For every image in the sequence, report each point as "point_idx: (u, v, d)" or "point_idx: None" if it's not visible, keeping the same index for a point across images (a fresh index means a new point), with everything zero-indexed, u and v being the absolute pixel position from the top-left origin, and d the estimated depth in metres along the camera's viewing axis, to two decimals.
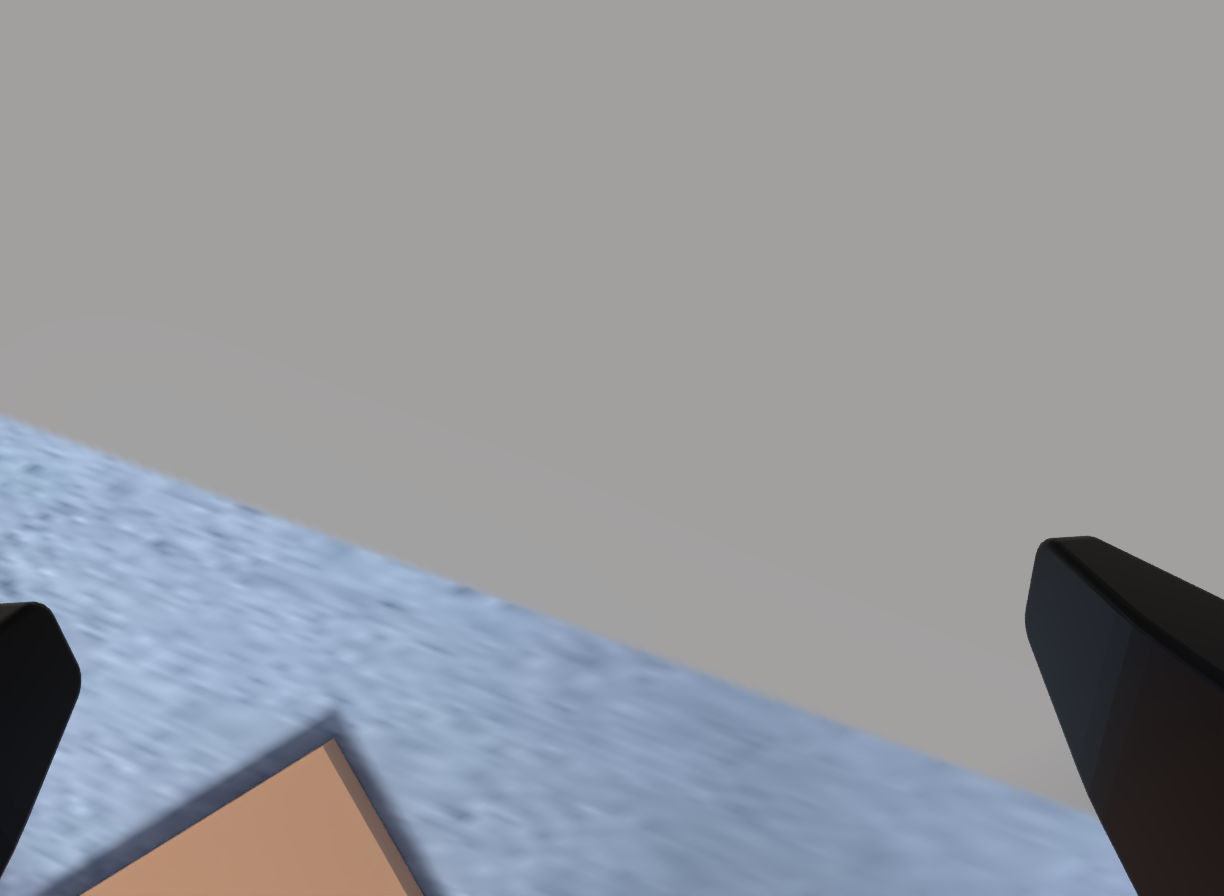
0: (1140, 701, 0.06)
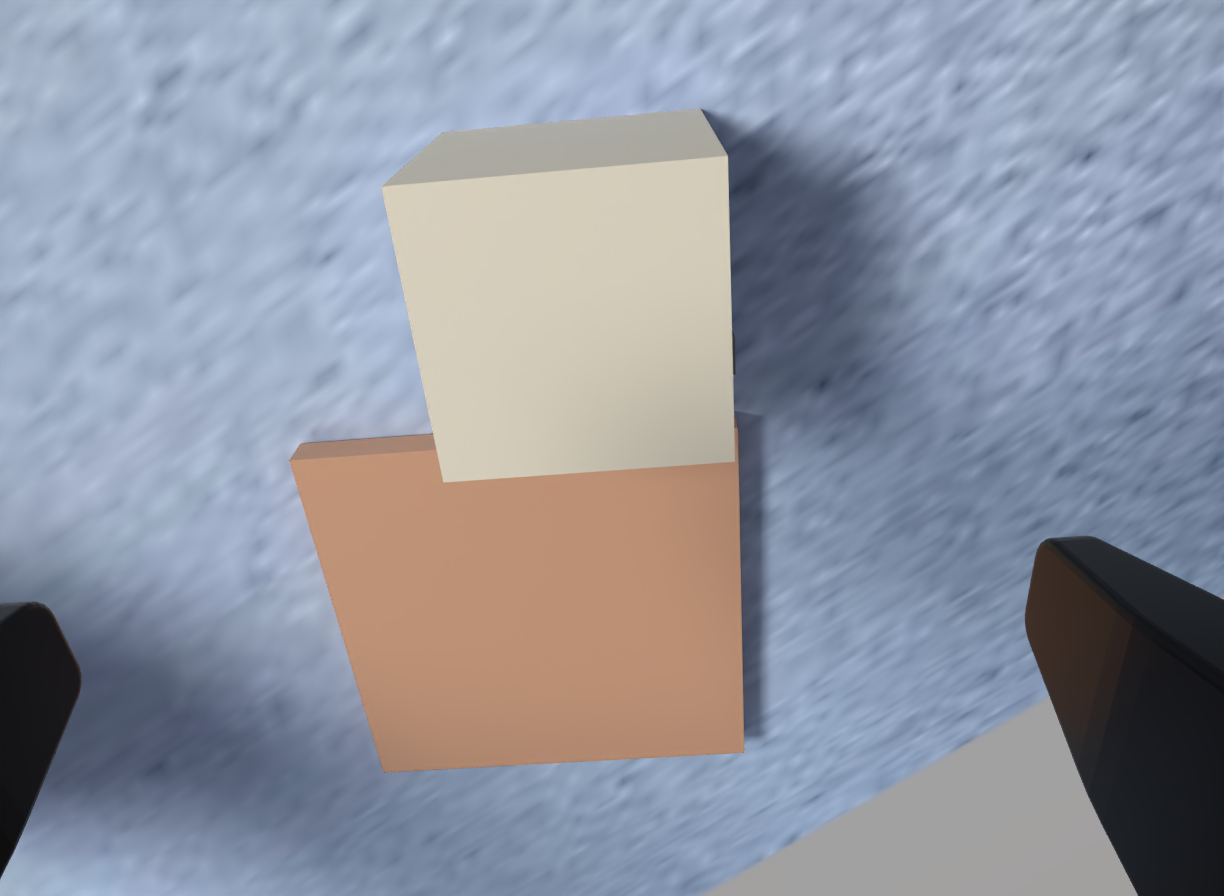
0: (1140, 701, 0.06)
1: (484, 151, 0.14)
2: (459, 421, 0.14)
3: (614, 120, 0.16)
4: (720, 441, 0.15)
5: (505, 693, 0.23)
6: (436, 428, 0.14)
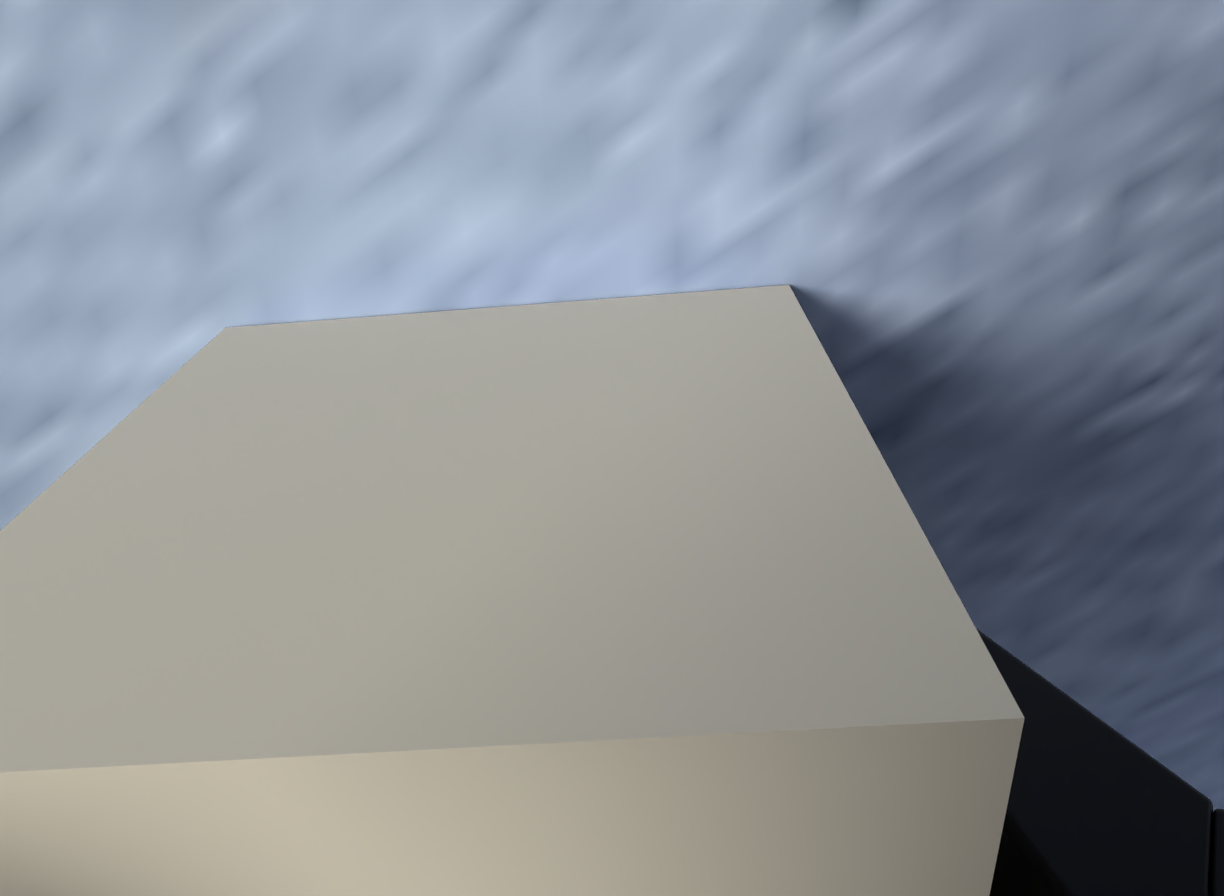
0: None
1: (236, 477, 0.05)
2: None
3: (598, 324, 0.07)
4: None
5: None
6: None
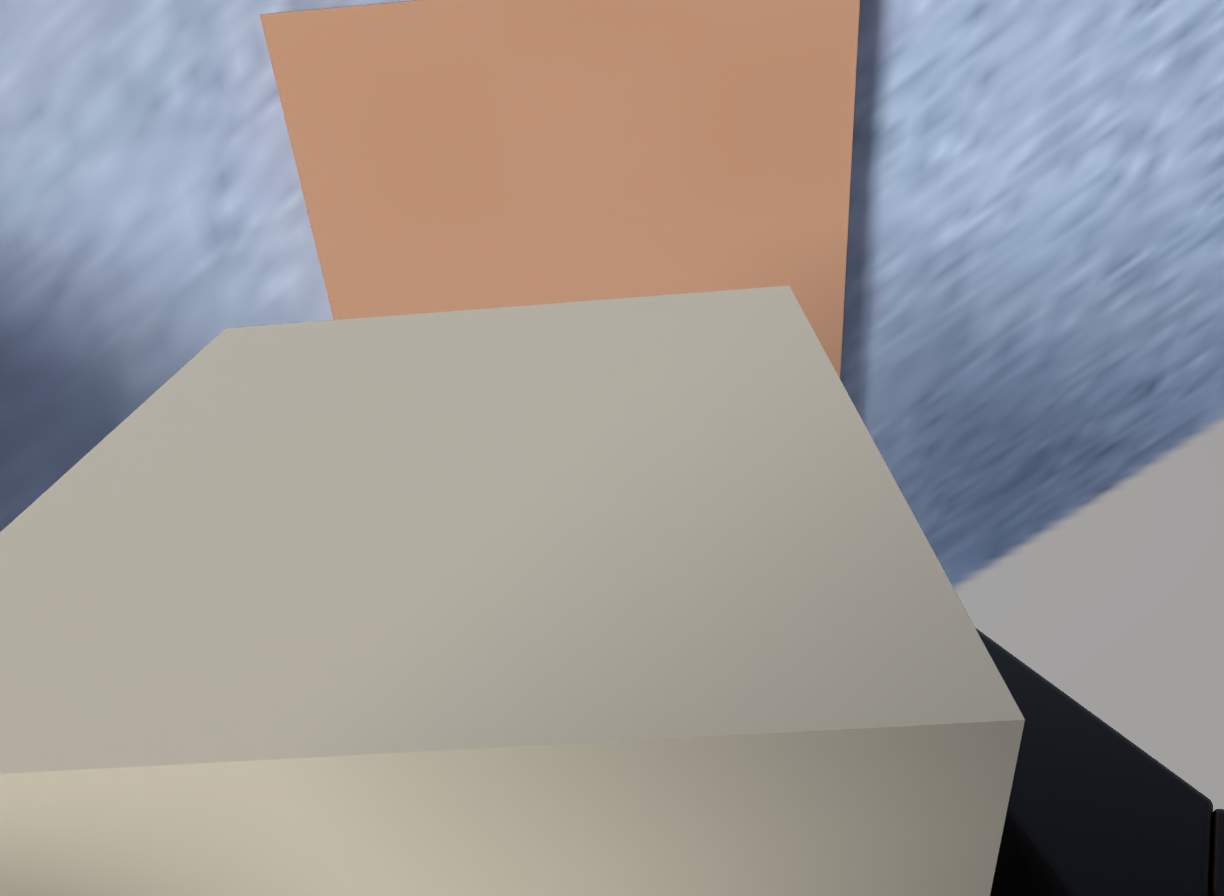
0: None
1: (236, 478, 0.05)
2: None
3: (598, 325, 0.07)
4: None
5: None
6: None
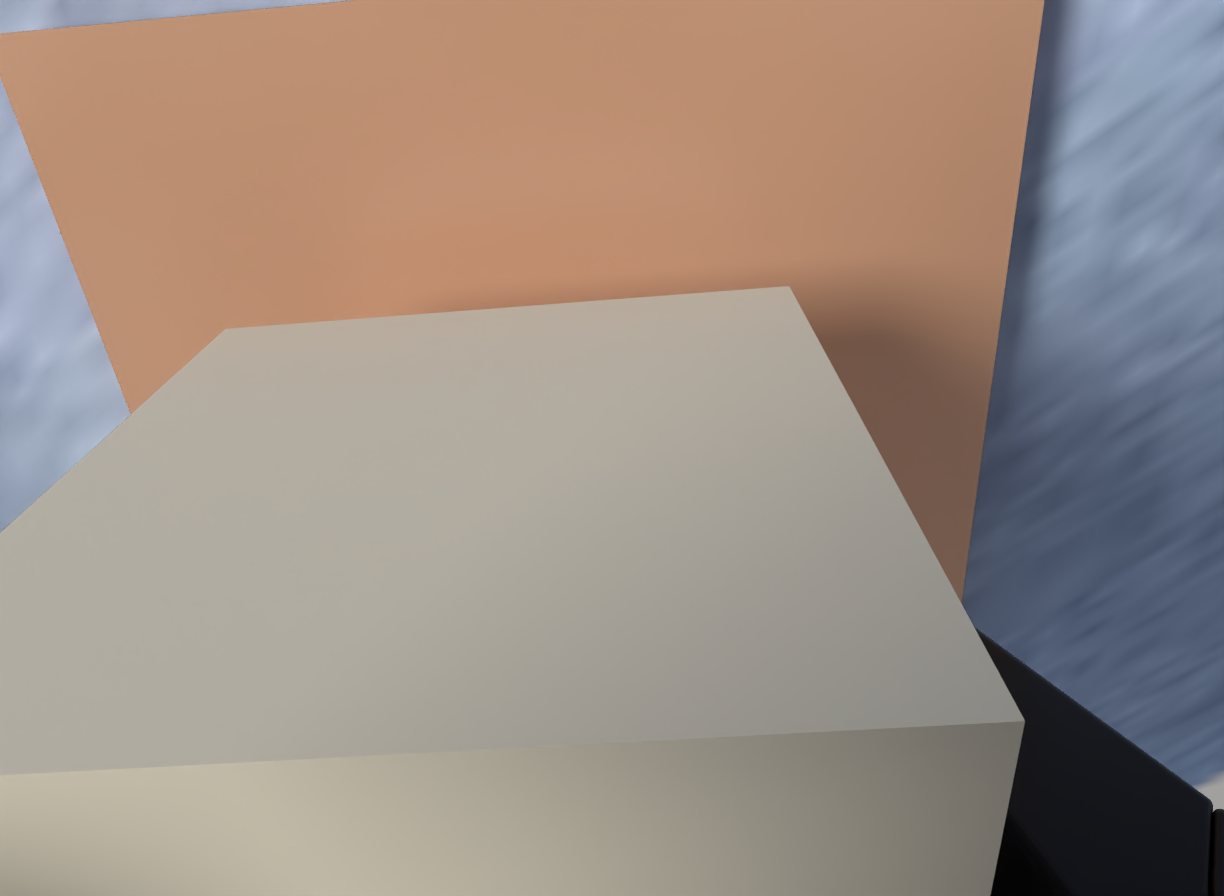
0: None
1: (236, 479, 0.05)
2: None
3: (598, 325, 0.07)
4: None
5: None
6: None
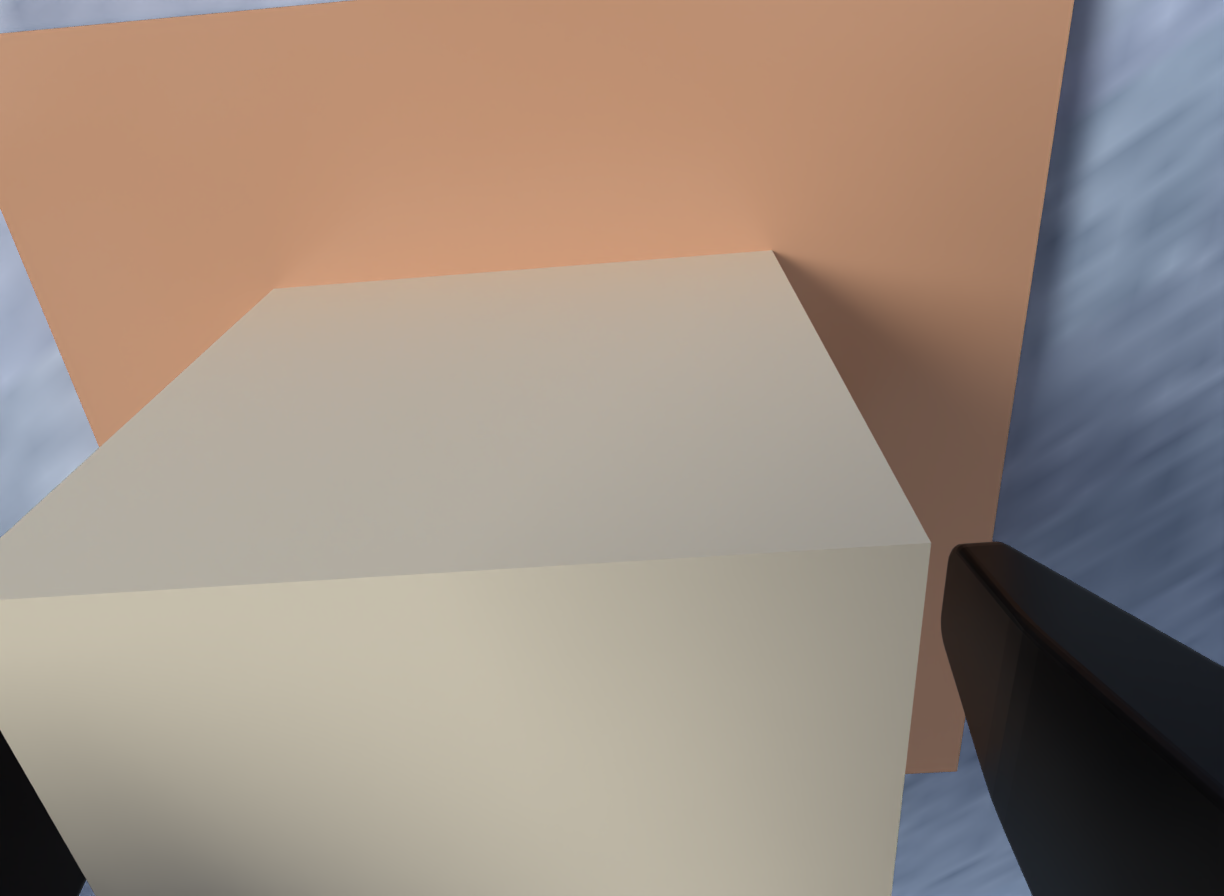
0: (1031, 706, 0.06)
1: (301, 398, 0.06)
2: None
3: (603, 282, 0.08)
4: None
5: None
6: None
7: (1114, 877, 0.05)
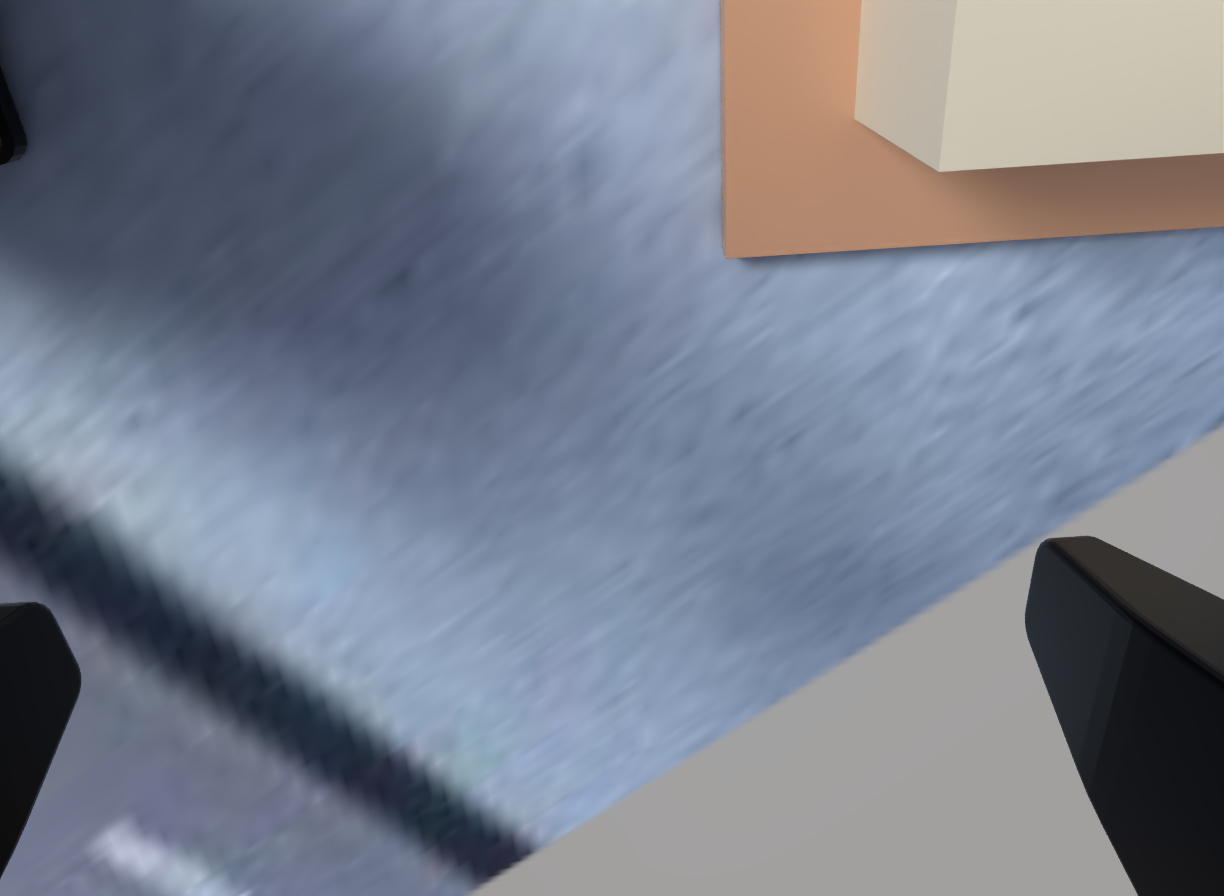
0: (1140, 701, 0.06)
1: None
2: (984, 80, 0.11)
3: None
4: None
5: None
6: (953, 90, 0.11)
7: None
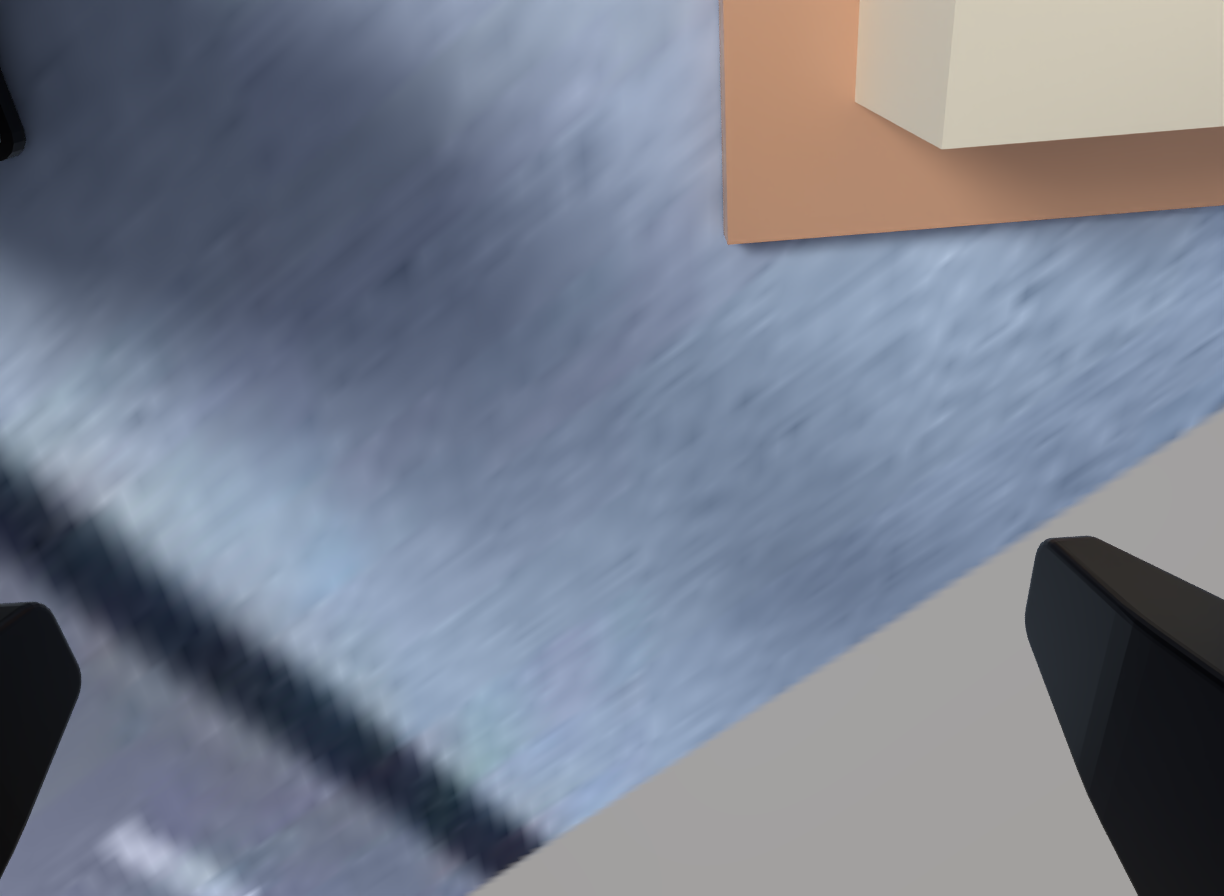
0: (1140, 701, 0.06)
1: None
2: (986, 56, 0.11)
3: None
4: None
5: None
6: (955, 66, 0.11)
7: None
